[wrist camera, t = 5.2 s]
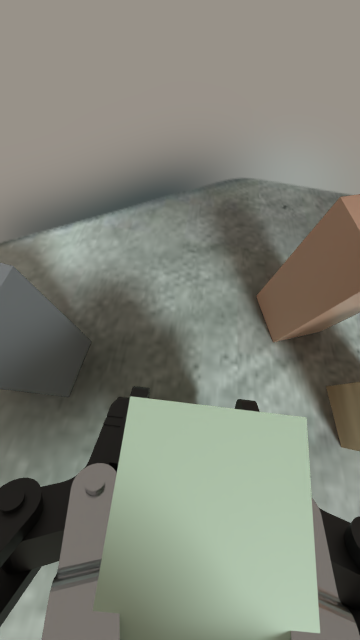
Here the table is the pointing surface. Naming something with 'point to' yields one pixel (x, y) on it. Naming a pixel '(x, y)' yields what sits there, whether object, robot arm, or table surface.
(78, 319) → the table surface
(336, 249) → the terracotta block
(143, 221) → the table surface
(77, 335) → the charcoal block
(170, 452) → the green block
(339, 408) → the oak block
